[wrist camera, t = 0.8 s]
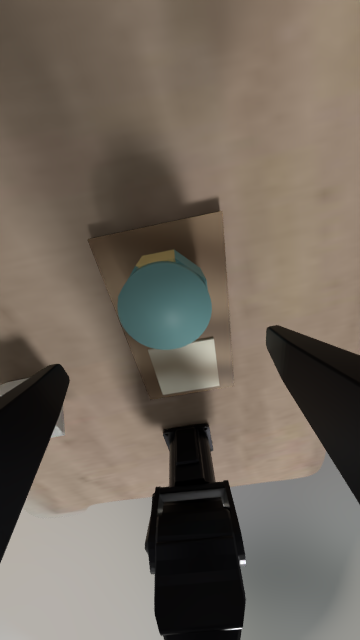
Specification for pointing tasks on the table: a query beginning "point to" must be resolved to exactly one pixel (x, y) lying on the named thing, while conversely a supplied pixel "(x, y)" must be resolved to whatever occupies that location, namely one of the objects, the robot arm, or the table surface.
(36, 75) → the table surface
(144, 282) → the cap
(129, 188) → the table surface
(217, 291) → the board
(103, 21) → the table surface
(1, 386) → the figurine
